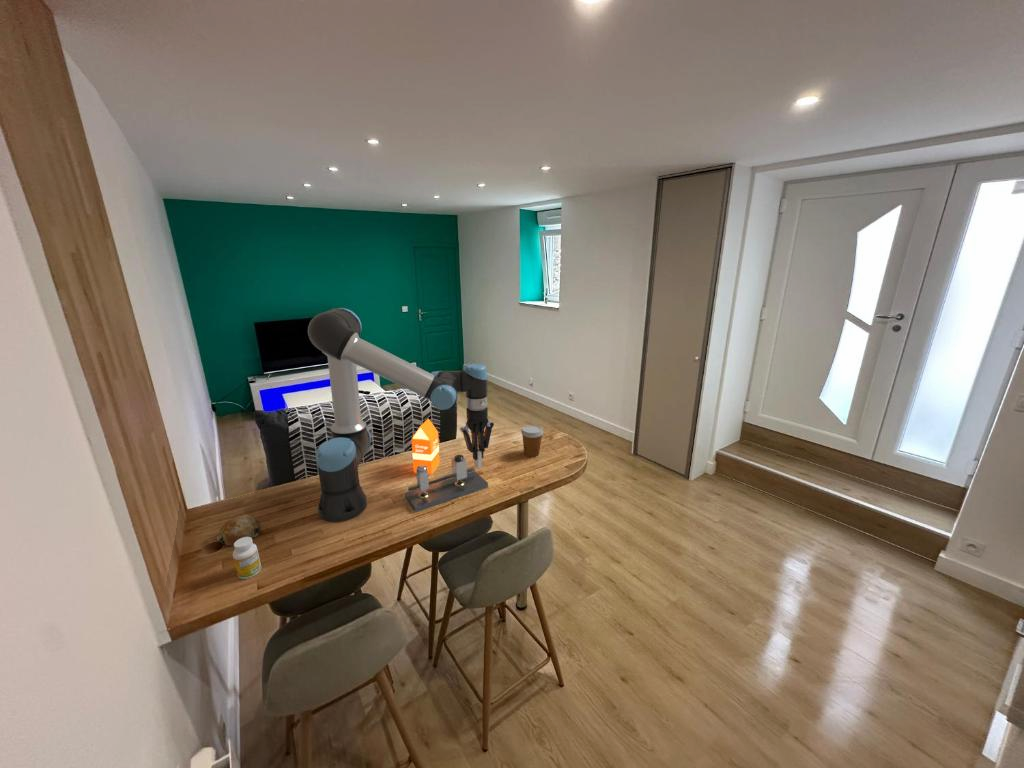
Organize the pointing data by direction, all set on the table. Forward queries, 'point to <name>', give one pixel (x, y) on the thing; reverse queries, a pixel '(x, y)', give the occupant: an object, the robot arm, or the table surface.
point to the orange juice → (426, 447)
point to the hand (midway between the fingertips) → (478, 466)
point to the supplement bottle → (246, 558)
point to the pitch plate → (441, 488)
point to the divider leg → (459, 467)
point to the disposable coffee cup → (532, 439)
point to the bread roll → (238, 529)
